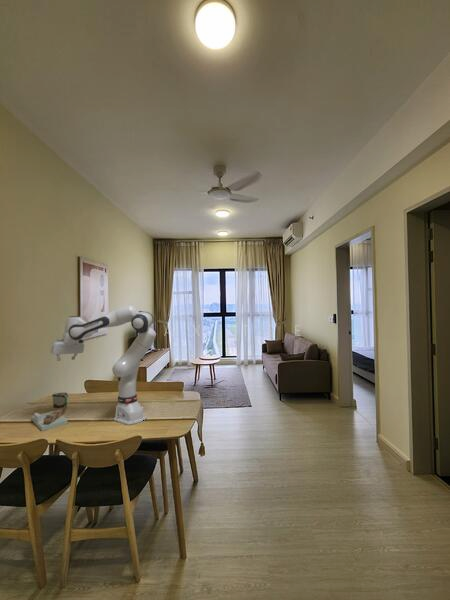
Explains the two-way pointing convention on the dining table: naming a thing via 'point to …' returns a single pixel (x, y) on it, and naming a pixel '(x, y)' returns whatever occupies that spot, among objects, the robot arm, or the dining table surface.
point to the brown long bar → (54, 416)
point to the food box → (60, 421)
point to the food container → (60, 400)
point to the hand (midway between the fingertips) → (65, 359)
